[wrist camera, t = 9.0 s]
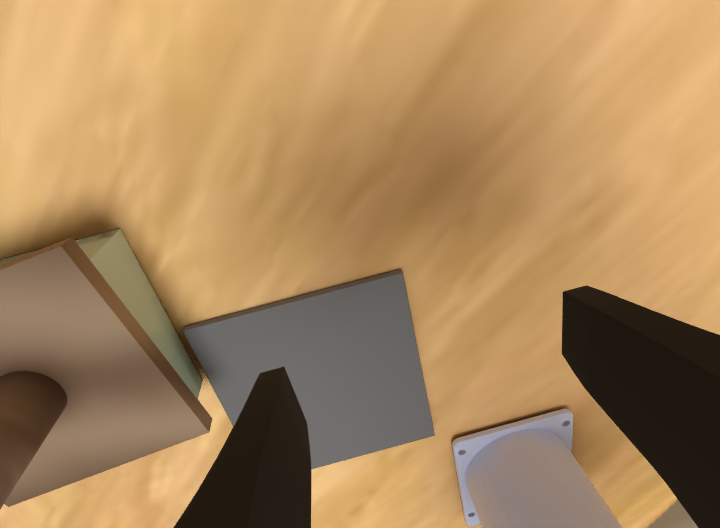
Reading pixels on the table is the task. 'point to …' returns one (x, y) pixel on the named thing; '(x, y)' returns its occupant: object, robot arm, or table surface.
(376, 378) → the mat
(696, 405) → the robot arm
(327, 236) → the table surface
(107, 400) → the lid
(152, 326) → the dish
